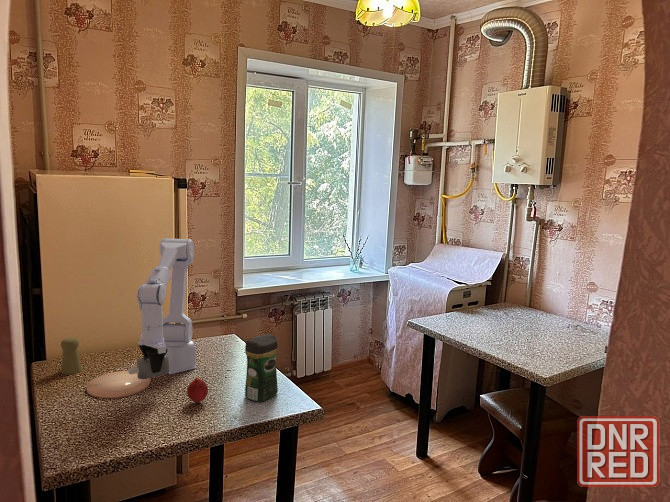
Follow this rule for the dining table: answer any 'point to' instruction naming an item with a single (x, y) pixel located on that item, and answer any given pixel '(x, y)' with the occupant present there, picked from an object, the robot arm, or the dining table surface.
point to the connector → (149, 368)
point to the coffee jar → (261, 368)
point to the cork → (70, 356)
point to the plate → (117, 385)
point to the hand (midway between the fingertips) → (153, 369)
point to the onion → (197, 390)
